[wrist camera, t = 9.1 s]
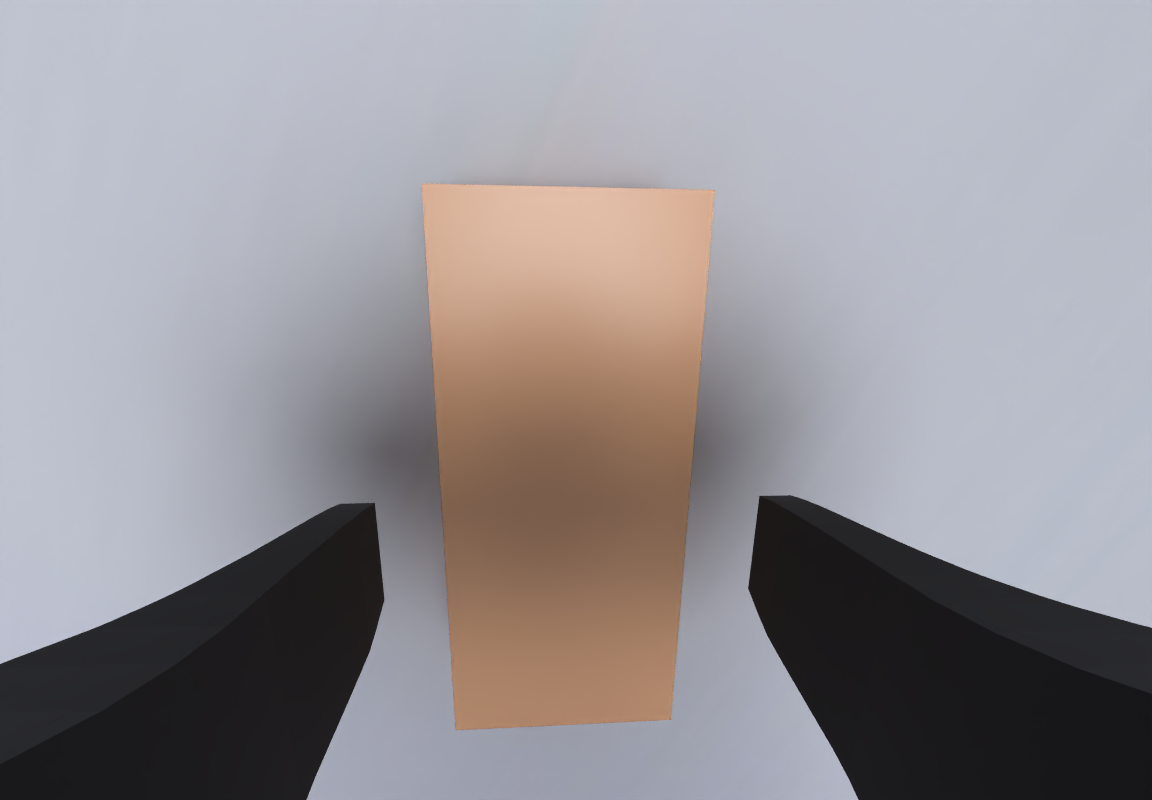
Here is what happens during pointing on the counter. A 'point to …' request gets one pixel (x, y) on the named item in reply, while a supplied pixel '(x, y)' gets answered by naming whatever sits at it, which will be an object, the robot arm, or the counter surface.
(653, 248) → the tan rectangular plank
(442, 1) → the counter surface
